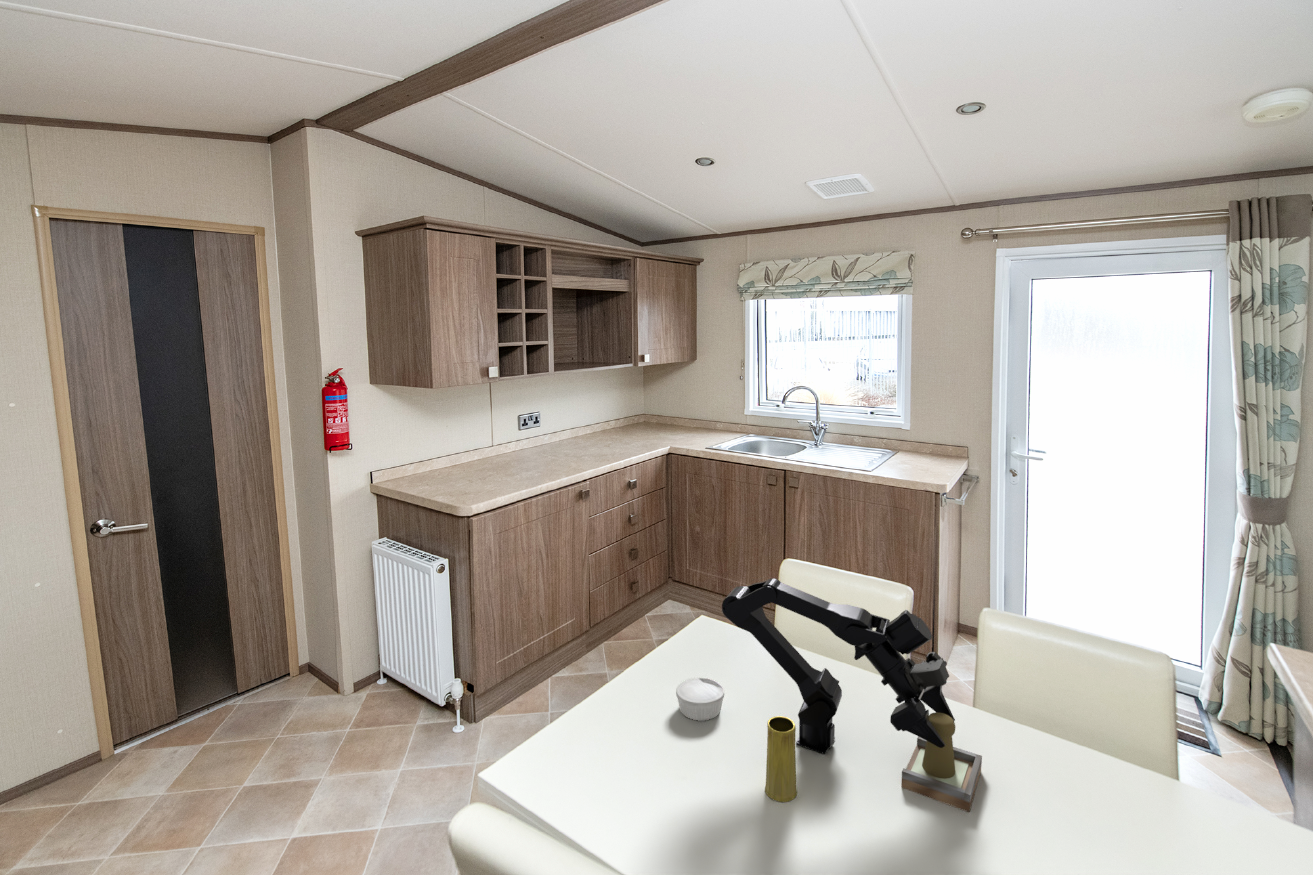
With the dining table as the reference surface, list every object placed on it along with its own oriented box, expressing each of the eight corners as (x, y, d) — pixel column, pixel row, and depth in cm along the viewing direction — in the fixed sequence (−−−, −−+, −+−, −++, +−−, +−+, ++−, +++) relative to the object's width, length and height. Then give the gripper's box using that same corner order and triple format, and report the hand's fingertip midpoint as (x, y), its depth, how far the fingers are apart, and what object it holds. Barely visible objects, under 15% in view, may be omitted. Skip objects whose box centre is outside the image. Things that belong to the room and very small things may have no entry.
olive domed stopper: (940, 755, 130) (942, 705, 129) (962, 774, 125) (965, 722, 123) (915, 761, 129) (917, 711, 127) (936, 781, 123) (939, 728, 121)
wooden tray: (901, 787, 125) (901, 770, 124) (917, 750, 135) (918, 735, 135) (969, 812, 118) (970, 795, 118) (981, 771, 129) (982, 755, 128)
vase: (778, 807, 121) (778, 737, 118) (758, 787, 126) (758, 720, 124) (803, 795, 123) (804, 727, 121) (783, 776, 129) (783, 711, 126)
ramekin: (732, 705, 154) (732, 684, 153) (710, 730, 145) (710, 708, 144) (691, 692, 160) (691, 672, 159) (667, 715, 150) (667, 694, 150)
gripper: (910, 667, 117) (974, 743, 113) (933, 627, 132) (990, 692, 128) (865, 694, 123) (924, 767, 119) (892, 652, 138) (945, 716, 134)
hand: (948, 733), depth 125 cm, fingers open, 9 cm apart
